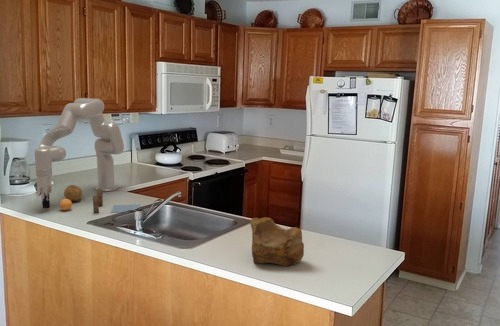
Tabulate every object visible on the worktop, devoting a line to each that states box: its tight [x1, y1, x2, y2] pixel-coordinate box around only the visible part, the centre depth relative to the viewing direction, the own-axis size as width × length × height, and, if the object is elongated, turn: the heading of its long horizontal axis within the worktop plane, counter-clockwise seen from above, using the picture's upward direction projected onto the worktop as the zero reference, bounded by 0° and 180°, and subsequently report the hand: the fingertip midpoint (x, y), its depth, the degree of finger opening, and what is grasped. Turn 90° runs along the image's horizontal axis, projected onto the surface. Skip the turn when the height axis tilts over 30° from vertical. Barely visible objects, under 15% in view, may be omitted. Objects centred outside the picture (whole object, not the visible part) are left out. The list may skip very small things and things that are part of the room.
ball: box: [59, 198, 73, 211], centre depth 240 cm, size 6×6×6 cm
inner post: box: [96, 189, 104, 208], centre depth 248 cm, size 3×3×9 cm
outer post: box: [92, 194, 100, 215], centre depth 236 cm, size 3×3×9 cm
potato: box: [63, 184, 83, 202], centre depth 258 cm, size 10×14×8 cm
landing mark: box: [110, 203, 141, 214], centre depth 245 cm, size 14×14×1 cm
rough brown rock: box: [249, 216, 305, 267], centre depth 178 cm, size 23×17×15 cm
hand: (46, 207), depth 239 cm, fingers closed
